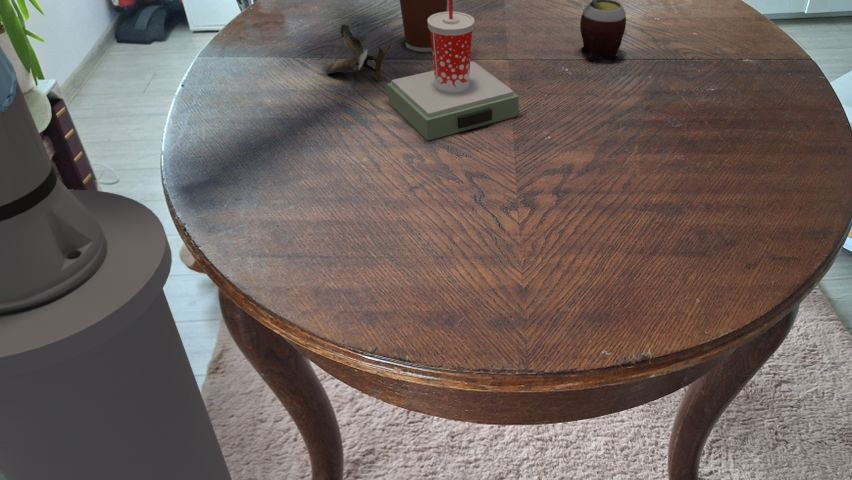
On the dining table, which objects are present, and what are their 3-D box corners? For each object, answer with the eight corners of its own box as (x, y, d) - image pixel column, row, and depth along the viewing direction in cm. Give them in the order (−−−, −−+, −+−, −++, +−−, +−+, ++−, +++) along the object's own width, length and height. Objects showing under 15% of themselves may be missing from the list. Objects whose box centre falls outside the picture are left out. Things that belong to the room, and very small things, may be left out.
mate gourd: (628, 53, 119) (642, -45, 109) (606, 70, 114) (619, -31, 104) (587, 41, 122) (597, -54, 112) (564, 57, 117) (573, -41, 107)
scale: (429, 142, 96) (428, 117, 93) (388, 103, 104) (386, 79, 101) (520, 117, 101) (521, 93, 99) (474, 82, 109) (474, 59, 107)
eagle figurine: (397, 58, 112) (345, 37, 114) (388, 30, 105) (333, 9, 107) (374, 99, 111) (322, 78, 112) (364, 74, 104) (308, 52, 105)
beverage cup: (483, 88, 100) (484, -17, 91) (445, 99, 97) (442, -8, 88) (458, 72, 104) (457, -31, 95) (421, 82, 101) (416, -23, 92)
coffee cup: (402, 31, 123) (397, -44, 116) (456, 34, 123) (455, -41, 115) (392, 53, 116) (386, -25, 109) (449, 56, 116) (447, -22, 108)
